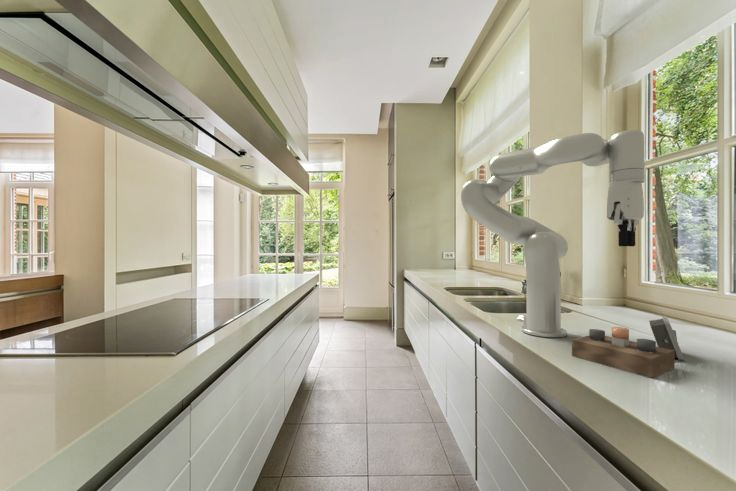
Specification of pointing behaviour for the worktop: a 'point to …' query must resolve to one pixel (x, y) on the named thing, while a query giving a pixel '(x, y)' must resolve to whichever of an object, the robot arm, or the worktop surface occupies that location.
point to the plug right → (646, 345)
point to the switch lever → (597, 335)
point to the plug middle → (620, 336)
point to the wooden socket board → (624, 356)
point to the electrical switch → (665, 336)
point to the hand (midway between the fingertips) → (626, 246)
